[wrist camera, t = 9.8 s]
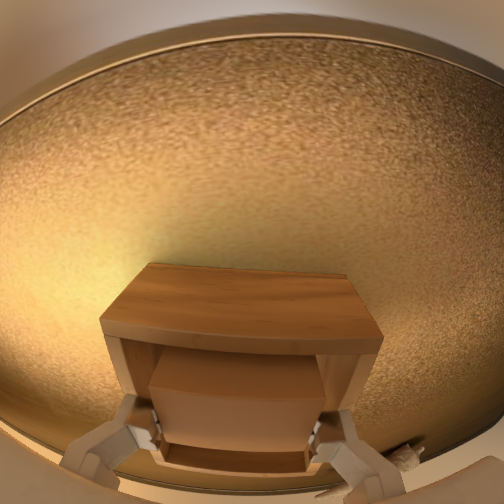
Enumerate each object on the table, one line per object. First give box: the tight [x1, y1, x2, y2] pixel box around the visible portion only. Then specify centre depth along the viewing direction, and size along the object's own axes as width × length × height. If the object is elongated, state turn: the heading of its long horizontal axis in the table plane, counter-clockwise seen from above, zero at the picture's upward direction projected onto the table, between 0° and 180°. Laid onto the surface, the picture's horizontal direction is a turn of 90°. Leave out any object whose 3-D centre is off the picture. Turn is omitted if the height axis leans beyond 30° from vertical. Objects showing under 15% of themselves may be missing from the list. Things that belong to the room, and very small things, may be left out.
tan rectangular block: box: [148, 345, 326, 452], centre depth 10 cm, size 4×6×3 cm, turn 86°
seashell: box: [315, 444, 424, 501], centre depth 20 cm, size 14×4×4 cm
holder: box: [99, 263, 384, 477], centre depth 13 cm, size 13×11×6 cm
